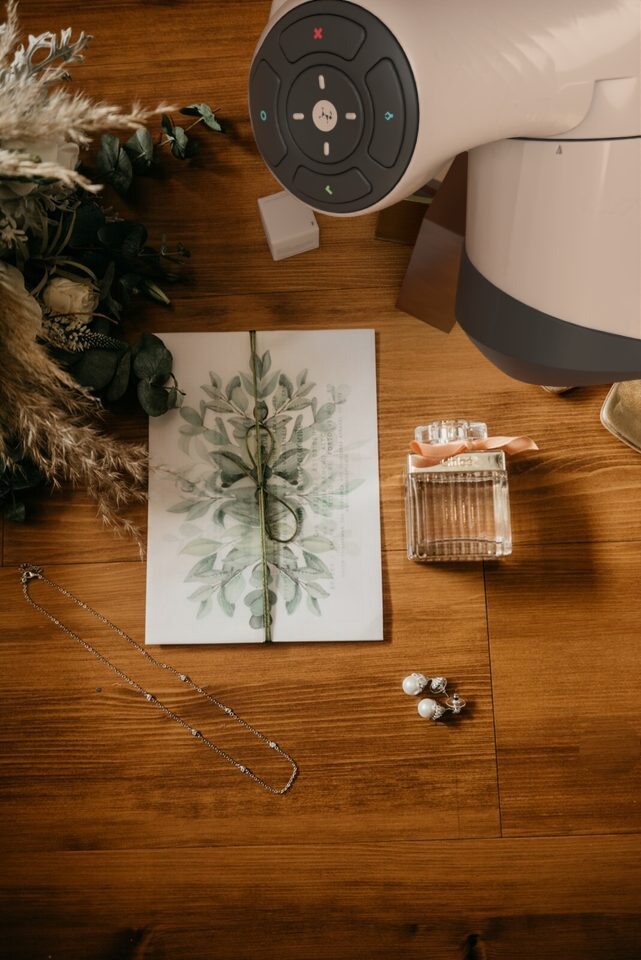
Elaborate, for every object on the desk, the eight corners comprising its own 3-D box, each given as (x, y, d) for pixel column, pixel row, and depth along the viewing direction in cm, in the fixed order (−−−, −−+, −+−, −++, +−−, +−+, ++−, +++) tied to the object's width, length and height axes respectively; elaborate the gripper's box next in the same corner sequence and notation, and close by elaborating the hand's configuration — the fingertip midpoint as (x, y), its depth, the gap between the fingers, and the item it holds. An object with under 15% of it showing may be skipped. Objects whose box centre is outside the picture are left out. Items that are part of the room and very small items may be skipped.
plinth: (475, 282, 84) (534, 183, 61) (448, 334, 83) (497, 254, 60) (421, 255, 84) (460, 147, 61) (394, 307, 83) (423, 217, 61)
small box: (305, 203, 85) (304, 182, 80) (320, 248, 84) (320, 229, 79) (259, 218, 84) (255, 198, 79) (274, 263, 84) (271, 245, 79)
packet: (462, 182, 84) (479, 139, 75) (439, 226, 84) (453, 188, 75) (430, 167, 84) (444, 121, 75) (407, 211, 84) (418, 171, 75)
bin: (492, 158, 85) (516, 103, 75) (476, 256, 84) (499, 215, 73) (390, 141, 85) (400, 84, 75) (374, 239, 84) (381, 195, 74)
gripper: (639, 87, 35) (636, 55, 46) (268, -93, 36) (349, -83, 46) (568, 208, 39) (580, 153, 50) (236, 44, 40) (318, 24, 50)
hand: (466, 38), depth 48 cm, fingers open, 8 cm apart
